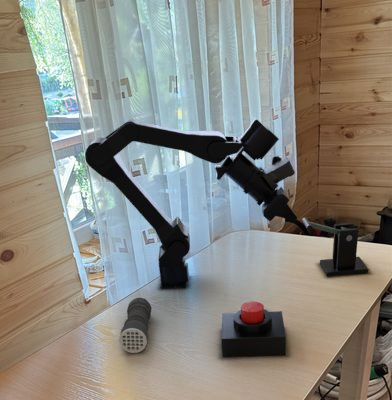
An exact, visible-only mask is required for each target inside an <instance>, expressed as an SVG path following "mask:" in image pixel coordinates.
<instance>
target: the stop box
mask: <svg viewBox="0 0 392 400" xmlns="http://www.w3.org/2000/svg"><path fill="white" fill-rule="evenodd" d="M220 335H221V336H220V337H221V338H220V340H221V341H220V342H221V354H222V355H221V356H222V358H246V357H247V358H248V357H278V356H279V357H280V356H286V353H287V347H286V345H287V343H286V341H287V335H286V329H285V323H284V317H283V311H282V310H279V311H278V310H276V311H269V310H267V309H265V308H264V319H263V320H262V321H260V322H257V323H247V322H243V321H242V320H241V309H239V310H238V311H236V312H229V313H222V317H221V334H220Z"/></svg>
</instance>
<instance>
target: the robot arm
mask: <svg viewBox="0 0 392 400" xmlns="http://www.w3.org/2000/svg"><path fill="white" fill-rule="evenodd" d="M279 140H280V138H279V137H278V136H277V135H276V134H275V133H274V132H273V131H272V130H271V129H270V128H269V127H268V126H266V125H264V124H263V123H262V122H261V121H260V120H258V118H256V117H255V118H254V119H252V121H251V122H250V124H249V126H248V127H247V129H246V130H245V131H244V132H243V133H242V134H241V136H233V135H232V136H231V135H224V134H223V132H221V131H218V130H196V131H195V130H193V131H187V130H184V129H178V128H173V127H167V126H163V125H157V124H153V123H147V122H142V121H138V120H136V119H134V118H129V119H126V120H125V121H123V123H122V125H120V126H119V127H117V128H116V129H114V130H113V131H112V132H110V133H109V134H108V135H106V136H105V137H96V138H95V139H93V140H92V141H91V143H90V144H89V145H88V146H87V148H86V149H85V153H84V159H85V163H86V164H87V165H88V166H89V167H90V168H91V169H92V170H93V171H95V172H96V173H97V174H98V175H99V176H101V177H103V179H106V180H107V181H109V182H111V184H114V186H115V187H116V188H117V189H118V190H119V191H120V192H121V194H122V195H123V196H124V197H125V198H126V199H127V200H128V201H129V203H130V204H131V205H132V206H133V207H134V208H135V209H136V211H137V212H138V213H139V214H140V215H141V217H143V219H145V220H146V221H147V223H148V224H149V225H150V226H151V227H152V229H153V230H154V231H155V233H156V235H157V238H158V240H159V242H160V243H161V245H160V246H159V252H158V258H157V259H158V270H159V277H160V285H159V288H160V289H180V288H181V289H182V288H186V287H187V284H188V283H189V282H190V281H189V280H190V273H189V263H188V262H186V256H187V255H188V254H189V252H190V249H191V237H190V233H189V227H188V226H186V225H185V224H184V223H183V222H182V220H181V219H180V216H176V218H174V219H172V218H171V217H169V216H168V215H167V214H166V213H165V212H164V211H163V209H161V207H160V206H159V205H158V204H157V203H156V202H155V200H154V199H153V198H152V197H151V195H149V193H148V192H147V191H146V190H145V189H144V188H143V187H142V185H140V183H139V182H138V180H137V179H136V178H135V177H134V176H133V175H132V174H131V173H130V171H129V169H127V167H126V165H125V163H124V161H123V158H122V157H121V155H120V152H121V151H123V150H124V149H125V148H126V147H128V145H130V144H131V143H135V142H136V143H140V144H146V145H151V146H156V147H161V148H166V149H171V150H176V151H180V152H185V153H188V154H190V155H192V156H194V157H196V158H198V159H201V160H202V161H204V162H205V161H206V162H209V163H211V164H215V165H214V169H215V171H216V172H215V173H216V174H215V177H216V179H217V180H218V181H220V180H221V179H222V178H223V177H224V175H226V176H227V177H228V178H229V179H230V180H231V181H233V182H234V183H235V184H236V185H237V186H238V187H239V188H240V189H241V190H242V192H243V193H244V194H245V195H248V196H250V197H251V198H252V199H253V200H254V201H255V203H256V204H257V205H258V206H259V207H260V206H261V214H262V216H263V217H264V218H265V219H266V220H267V221H268V222H272V221H273V220H274V219H275V217H278V218H281V219H285V220H288V221H292V222H295V221H296V220H297V219H298V216H297V215H296V213H295V212H294V210H293V209H292V208H291V206H290V205H289V204H288V203H289V202H290V198H289V196H288V195H287V192H286V191H285V190H284V188H283V186H281V187H279V185H278V184H279V183H280V182H282V181H283V180H285V179H287V178H290V177H292V176H294V175H296V172H295V171H296V170H295V169H294V168H293V165H292V163H291V161H290V159H289V157H288V156H286V157H285V156H283V157H280V156H279V155H278V154H276V155H274V156H272V157H271V158H270V164H269V165H268V167H266V168H262V166H257V165H256V164H255V163H253V162H252V160H253V161H256V160H257V161H259V160H263V158H265V156H267V154H268V153H269V152H270V150H271V149H272V148H273V147H274V146H275V145H276V144H277V142H278V141H279ZM243 152H244V153H245V154H246V155H247V156H249V158H251V159H252V160H251V159H249V158H248V157H247V156H246V155H245V154H244V153H243ZM220 163H221V164H220ZM278 187H279V188H278Z"/></svg>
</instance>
